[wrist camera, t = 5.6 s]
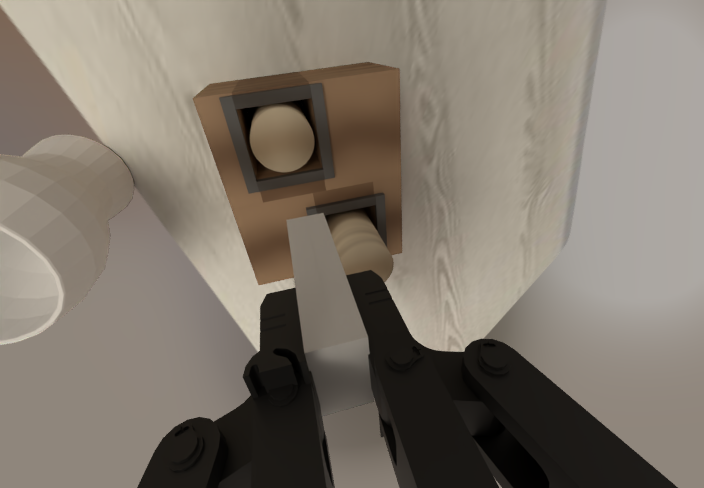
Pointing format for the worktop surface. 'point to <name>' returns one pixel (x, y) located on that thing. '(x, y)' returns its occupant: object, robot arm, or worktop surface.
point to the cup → (55, 228)
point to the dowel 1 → (281, 136)
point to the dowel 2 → (359, 243)
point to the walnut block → (324, 164)
